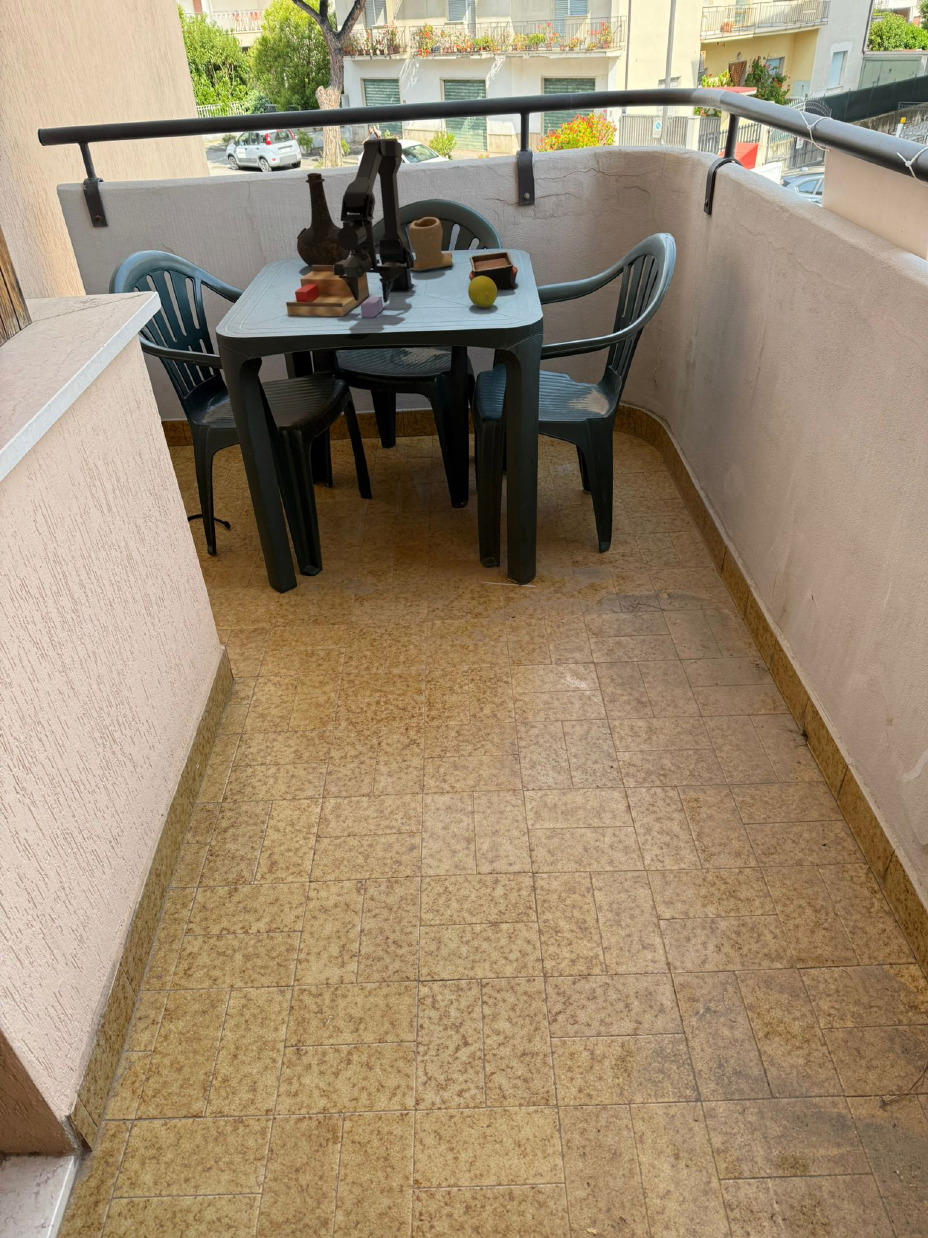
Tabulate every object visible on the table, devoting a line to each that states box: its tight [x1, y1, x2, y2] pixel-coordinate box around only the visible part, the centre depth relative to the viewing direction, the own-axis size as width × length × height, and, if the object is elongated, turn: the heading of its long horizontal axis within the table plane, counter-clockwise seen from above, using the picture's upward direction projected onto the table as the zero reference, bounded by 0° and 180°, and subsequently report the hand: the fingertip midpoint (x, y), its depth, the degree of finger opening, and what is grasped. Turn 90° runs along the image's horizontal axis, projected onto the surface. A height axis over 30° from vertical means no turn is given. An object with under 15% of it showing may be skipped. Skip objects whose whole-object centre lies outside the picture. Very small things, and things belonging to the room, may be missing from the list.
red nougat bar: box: [294, 284, 319, 302], centre depth 239 cm, size 4×8×3 cm, turn 164°
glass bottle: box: [296, 172, 351, 268], centre depth 273 cm, size 18×18×28 cm
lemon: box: [467, 276, 498, 308], centre depth 231 cm, size 11×8×8 cm
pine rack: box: [285, 265, 370, 317], centre depth 241 cm, size 17×20×8 cm
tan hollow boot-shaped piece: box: [408, 216, 453, 272], centre depth 265 cm, size 15×12×15 cm
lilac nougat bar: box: [359, 296, 384, 318], centre depth 233 cm, size 4×8×3 cm, turn 164°
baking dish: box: [468, 251, 519, 291], centre depth 248 cm, size 14×18×10 cm
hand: (371, 301), depth 233 cm, fingers open, 9 cm apart
